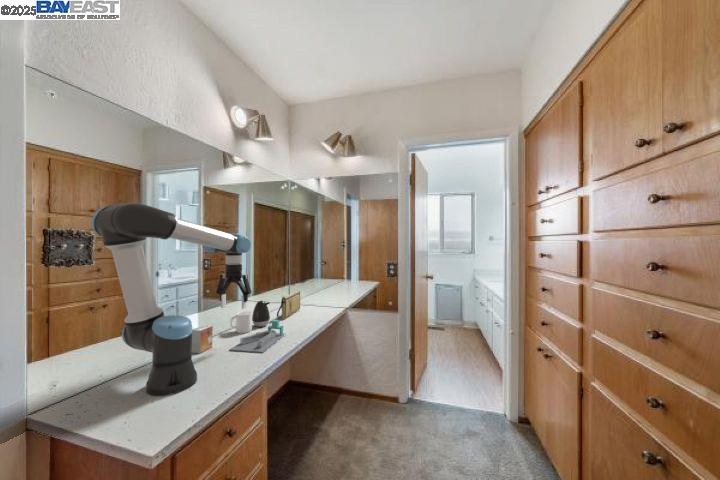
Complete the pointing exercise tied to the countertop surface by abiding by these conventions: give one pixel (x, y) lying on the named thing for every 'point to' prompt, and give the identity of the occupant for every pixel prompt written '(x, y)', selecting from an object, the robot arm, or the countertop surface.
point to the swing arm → (253, 337)
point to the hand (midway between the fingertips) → (233, 308)
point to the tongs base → (266, 339)
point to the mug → (242, 322)
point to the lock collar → (275, 326)
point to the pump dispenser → (261, 314)
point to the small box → (201, 338)
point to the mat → (255, 345)
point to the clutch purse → (290, 304)
